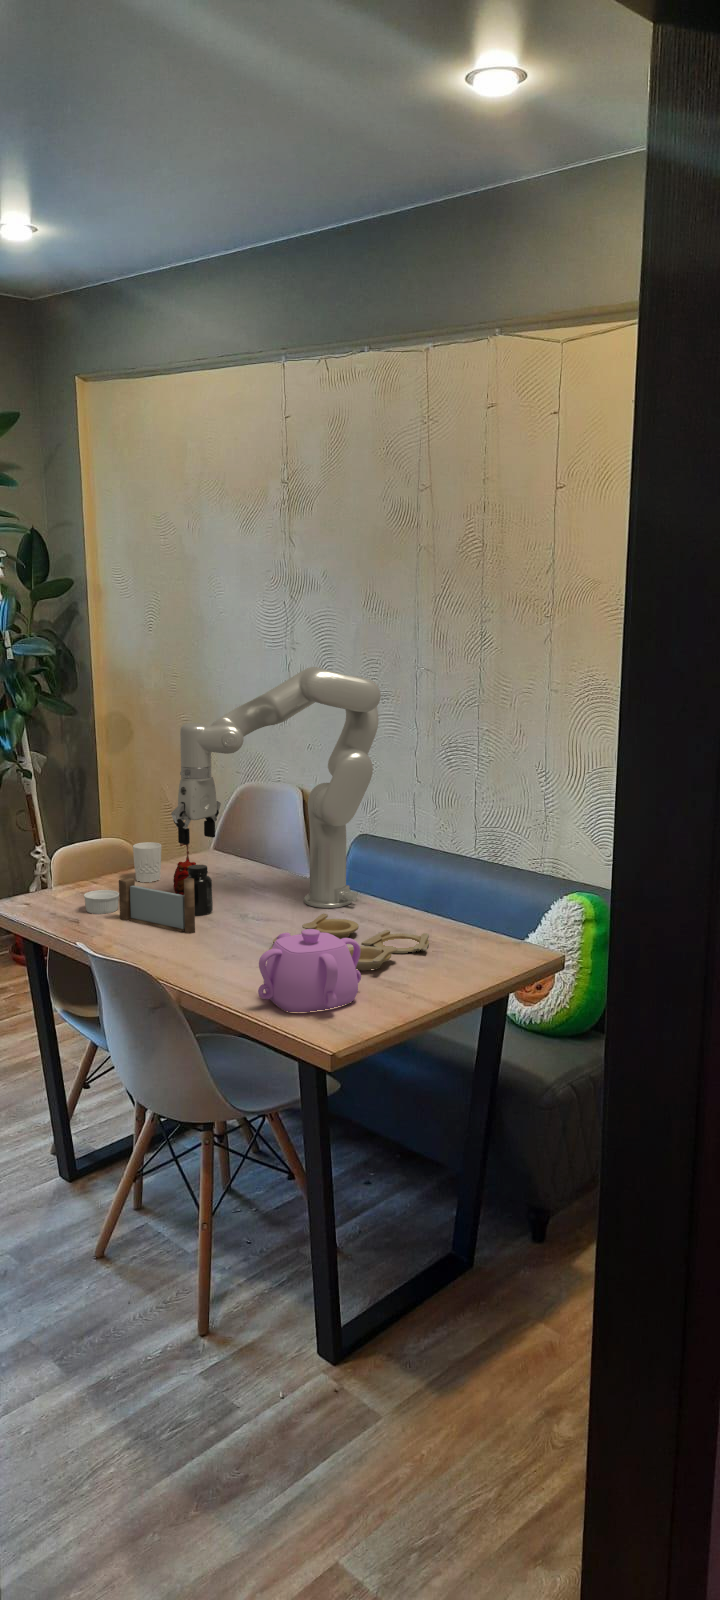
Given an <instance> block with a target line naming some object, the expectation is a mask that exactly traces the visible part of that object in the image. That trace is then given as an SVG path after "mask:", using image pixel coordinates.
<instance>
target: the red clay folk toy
mask: <svg viewBox="0 0 720 1600" xmlns="http://www.w3.org/2000/svg"><path fill="white" fill-rule="evenodd" d="M179 844H180V846H179V847H183V846H186V847H185V848H186V857H185V861H179V862H178V863H177V865H176V866H177V867H176V868H175V870H174V874H173V878H172V879H173V880H172V881H173V890H174V893H175V894H180V895H184V879H186V878H187V877H188V876H189V874H188V867H189V866H191V865H197V863H196V862H195V861H190V856H189V854H190V851H189V844H182V843H179Z"/></svg>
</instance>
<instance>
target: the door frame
mask: <svg viewBox="0 0 720 1600" xmlns="http://www.w3.org/2000/svg"><path fill="white" fill-rule="evenodd" d="M133 885H134V886H136V885H135V878H132V877H125V878H121V879H119V880H118V893H119V899H118V905H119V919H120V920H122V921H126V922H127V921H129V922H133V923H137V924H142V925H146V926H149V927H150V926H151V927H155V928H160V929H163V930H164V929H165V930H168V931H174V932H179V933H183V932H184V933H185V934H194V933H196V916H195V900H194V879H193V878H186V879H184V908H185V929H181V928H176V927H171V926H167V925H162V924H158V923H153V922H148V921H144V920H139V919H134V918H131V907H130V886H133Z"/></svg>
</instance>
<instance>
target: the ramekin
mask: <svg viewBox="0 0 720 1600" xmlns="http://www.w3.org/2000/svg"><path fill="white" fill-rule="evenodd" d="M83 898H84V904H85V910H86V912H87V913H89V914H92V913H93V915H107V914H111V912H112V913H114V912H116V911H117V910H119V891H116V890H113V889H112V890H111V889H97V890H96V889H95V890H92V891H91V890H90V891H87V892H85V893H84V894H83ZM106 913H107V914H106Z"/></svg>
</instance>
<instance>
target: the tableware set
mask: <svg viewBox="0 0 720 1600" xmlns="http://www.w3.org/2000/svg"><path fill="white" fill-rule="evenodd" d="M328 917H329V914H327V913H321V914H320V915H318V916H317V917H316V918H315V919H314V920H312V921H311V922H306V923H303V924H302V928H303V930H306V929H316V930H319V931H320V932H323V933H329V934H332V935H334V936H336V937H337V938H339V939H342V938H349V937H350V935H351V934H353V933H355V932H356V931H358V929H359V924H358V922H355V921H353V920H350V919H345V918H328ZM429 938H430V934H429V933H426V932H423V933H421V934H420V935H419V934H413V933H412V934H411V933H402V932H400V933H399V932H398V933H391V930H389V929H386V930H383V931H381V932H379V933H377V934H375V935H373V936H371V937H369V938H367V939H365V940H364V941H362V942H361V944H360V945H359V946H360V949H361V953H360V958H359V961H358V964H357V966H356V968H355V969H358V971H360V970H371V969H376V968H378V969H380V968H381V966H382V964H383V963H384V962H387V961H389V960H390V959H391V958H392V954H408V952H412V953H416V951H417V952H420V950H421V951H423V952H424V951H427V950H428V947H429V946H430V941H429ZM394 939H412V940H415V941H417V942H419V944H416V945H415V946H414V947H409V948H396V947H393V946H385V945H383V942H385V941H388V940H394ZM276 940H277V936H275V938H274V939H273V940H272V943H273V944H274V943H275V941H276ZM272 947H273V945H271V946H270V947H269V948H268V950H270V949H272ZM348 949H349V952H350V954H351V957H352V956H353V951H354V947H353V946H352V947H348ZM379 967H380V968H379ZM376 970H377V969H376ZM371 971H372V970H371Z"/></svg>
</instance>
